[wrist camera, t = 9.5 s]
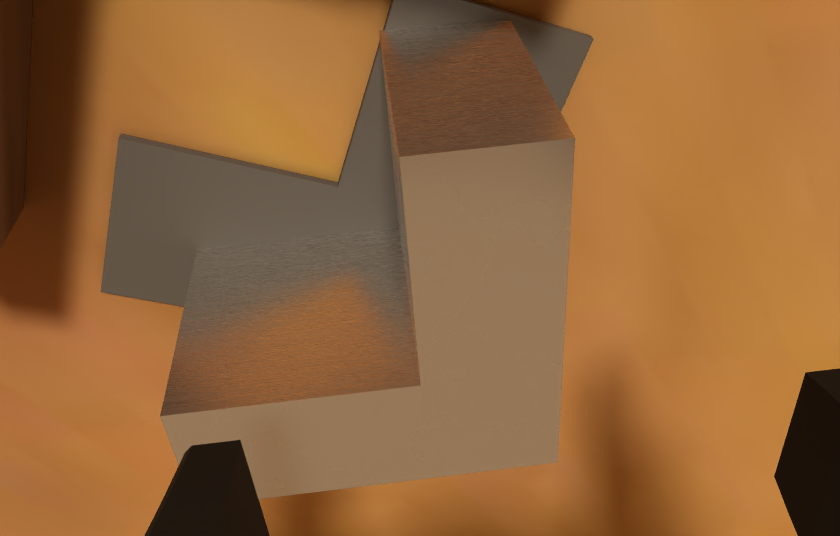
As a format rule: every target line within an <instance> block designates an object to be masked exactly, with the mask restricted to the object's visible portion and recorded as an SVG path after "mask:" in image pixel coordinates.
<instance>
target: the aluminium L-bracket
mask: <svg viewBox="0 0 840 536" xmlns="http://www.w3.org/2000/svg"><path fill="white" fill-rule="evenodd" d="M379 34H380V44H381V54H382V64H383V74H384V84H385V94H386V104H387V114H388V124H389V134H390V144H391V154H392V164H393V174H394V184H395V194H396V204H397V214H398V224H399V227H398V228H388V229H379V230H370V231H361V232H352V233H343V234H334V235H325V236H316V237H307V238H298V239H289V240H280V241H271V242H262V243H253V244H244V245H234V246H225V247H216V248H207V249H198V250H197V251H196V256H195V260H194V265H193V269H192V274H191V278H190V283H189V287H188V292H187V297H186V301H185V306H184V310H183V315H182V319H181V324H180V328H179V333H178V338H177V342H176V347H175V351H174V356H173V360H172V365H171V369H170V374H169V378H168V383H167V388H166V392H165V397H164V401H163V406H162V410H161V415H160V417H161V420H162V422H163V425H164V428H165V430H166V433H167V436H168V438H169V441H170V444H171V446H172V449H173V452H174V454H175V457H176V459H177V462H178V465H179V464H180V462H181V460H182V457H183V455H184V453H185V452H186V451H187V450H188V449H189V448H190V447H191V446H192V445H200V444H208V443H217V442H225V441H234V440H241V443H242V447H243V450H244V453H245V457H246V460H247V463H248V466H249V470H250V473H251V476H252V480H253V483H254V486H255V490H256V493H257V496H258V499H263V498H272V497H280V496H288V495H296V494H304V493H312V492H321V491H329V490H337V489H345V488H353V487H361V486H369V485H378V484H386V483H394V482H402V481H410V480H418V479H427V478H435V477H443V476H451V475H459V474H467V473H476V472H484V471H492V470H500V469H508V468H516V467H525V466H533V465H541V464H549V463H557V462H558V446H559V428H560V409H561V390H562V372H563V353H564V334H565V316H566V297H567V278H568V260H569V241H570V222H571V204H572V185H573V166H574V148H575V137H574V135H573V133H572V132H571V130H570V128H569V126H568V124H567V123H566V121H565V119H564V117H563V115H562V113H561V112H560V110H559V108H558V106H557V104H556V102H555V101H554V99H553V97H552V95H551V93H550V91H549V90H548V88H547V86H546V84H545V82H544V80H543V79H542V77H541V75H540V73H539V71H538V69H537V68H536V66H535V64H534V62H533V60H532V59H531V57H530V55H529V53H528V51H527V49H526V48H525V46H524V44H523V42H522V40H521V38H520V37H519V35H518V33H517V31H516V29H515V27H514V26H513V24H512V22H511V20H510V18H503V19H493V20H483V21H473V22H463V23H453V24H443V25H433V26H423V27H413V28H403V29H394V30H384V31H379Z"/></svg>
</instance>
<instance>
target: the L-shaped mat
mask: <svg viewBox="0 0 840 536" xmlns="http://www.w3.org/2000/svg"><path fill="white" fill-rule="evenodd" d="M503 18H510V20H511V22H512V24H513V26H514V27H515V29H516V31H517V33H518V35H519V37H520V38H521V40H522V42H523V44H524V46H525V48H526V49H527V51H528V53H529V55H530V57H531V59H532V60H533V62H534V64H535V66H536V68H537V69H538V71H539V73H540V75H541V77H542V79H543V80H544V82H545V84H546V86H547V88H548V90H549V91H550V93H551V95H552V97H553V99H554V101H555V102H556V104H557V106H558V108H559V110H560V112H561V110H562V108H563V106H564V104H565V101H566V99H567V97H568V95H569V92H570V90H571V88H572V86H573V84H574V81H575V79H576V77H577V75H578V72H579V70H580V68H581V66H582V64H583V61H584V59H585V57H586V55H587V52H588V50H589V48H590V46H591V43H592V41H593V38H592V37H591V36H590V35H587V34H583V33H580V32H577V31H573V30H570V29H567V28H563V27H560V26H557V25H553V24H550V23H546V22H543V21H540V20H536V19H533V18H530V17H526V16H523V15H520V14H516V13H513V12H509V11H506V10H503V9H499V8H496V7H493V6H489V5H486V4H483V3H479V2H476V1H472V0H392V2H391V5H390V8H389V12H388V15H387V19H386V22H385V25H384V29H383V31H384V30H394V29H403V28H413V27H423V26H433V25H443V24H453V23H463V22H473V21H483V20H493V19H503ZM398 227H399V224H398V214H397V204H396V194H395V184H394V174H393V164H392V154H391V144H390V134H389V124H388V114H387V104H386V94H385V84H384V74H383V64H382V54H381V44H380V42H379V46H378V49H377V52H376V56H375V59H374V62H373V66H372V69H371V73H370V76H369V79H368V83H367V86H366V90H365V93H364V96H363V100H362V103H361V106H360V110H359V113H358V117H357V120H356V123H355V127H354V130H353V133H352V137H351V140H350V144H349V147H348V150H347V154H346V157H345V160H344V164H343V167H342V171H341V174H340V177H339V181H338V182H334V181H330V180H325V179H321V178H316V177H312V176H307V175H303V174H298V173H294V172H289V171H285V170H281V169H276V168H272V167H267V166H263V165H258V164H254V163H249V162H245V161H241V160H236V159H232V158H227V157H223V156H218V155H214V154H209V153H205V152H200V151H196V150H192V149H187V148H183V147H178V146H174V145H169V144H165V143H160V142H156V141H152V140H147V139H143V138H138V137H134V136H129V135H125V134H120V137H119V141H118V150H117V158H116V167H115V175H114V184H113V192H112V201H111V209H110V218H109V226H108V235H107V244H106V252H105V261H104V269H103V278H102V286H101V292H104V293H109V294H115V295H121V296H126V297H132V298H138V299H144V300H149V301H155V302H161V303H166V304H172V305H178V306H183V307H184V306H185V301H186V297H187V292H188V287H189V283H190V278H191V274H192V269H193V265H194V260H195V256H196V251H197V250H198V249H207V248H216V247H225V246H234V245H244V244H253V243H262V242H271V241H280V240H289V239H298V238H307V237H316V236H325V235H334V234H343V233H352V232H361V231H370V230H379V229H388V228H398Z"/></svg>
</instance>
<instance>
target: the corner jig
mask: <svg viewBox="0 0 840 536" xmlns="http://www.w3.org/2000/svg"><path fill="white" fill-rule="evenodd" d="M32 11H33V0H0V248H1V246H2V245H3V243H4V241H5V239H6V237H7V236H8V234H9V232H10V230H11V229H12V227H13V225H14V223H15V222H16V220H17V218H18V216H19V214H20V213H21V211H22V209H23V207H24V185H25V163H26V142H27V120H28V98H29V76H30V55H31V33H32Z"/></svg>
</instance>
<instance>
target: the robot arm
mask: <svg viewBox="0 0 840 536" xmlns="http://www.w3.org/2000/svg"><path fill="white" fill-rule="evenodd" d="M774 477H775V479H776V482H777V485H778V487H779V490H780V492H781V495H782V498H783V500H784V503H785V505H786V508H787V510H788V513H789V516H790V518H791V520H792V523H793V525H794V528H795V530H796V532H797V535H798V536H840V369H832V370H823V371H815V372H807V373H805V376H804V380H803V383H802V386H801V390H800V393H799V396H798V400H797V403H796V406H795V409H794V413H793V416H792V419H791V423H790V426H789V429H788V433H787V436H786V439H785V443H784V446H783V449H782V453H781V456H780V459H779V462H778V466H777V469H776V472H775V476H774ZM145 536H269V532H268V529H267V526H266V522H265V519H264V516H263V513H262V509H261V506H260V503H259V499H258V496H257V493H256V490H255V486H254V483H253V480H252V476H251V473H250V470H249V466H248V463H247V460H246V457H245V453H244V450H243V447H242V443H241V440H234V441H225V442H217V443H208V444H200V445H192V446H191V447H190V448H189V449H188V450H187V451H186V452H185V453H184V455H183V457H182V460H181V462H180V464H179V466H178V468H177V471H176V473H175V475H174V477H173V479H172V481H171V483H170V486H169V488H168V490H167V492H166V494H165V496H164V498H163V500H162V502H161V504H160V506H159V508H158V510H157V512H156V514H155V516H154V518H153V520H152V522H151V524H150V526H149V528H148V530H147V532H146V534H145Z"/></svg>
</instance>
